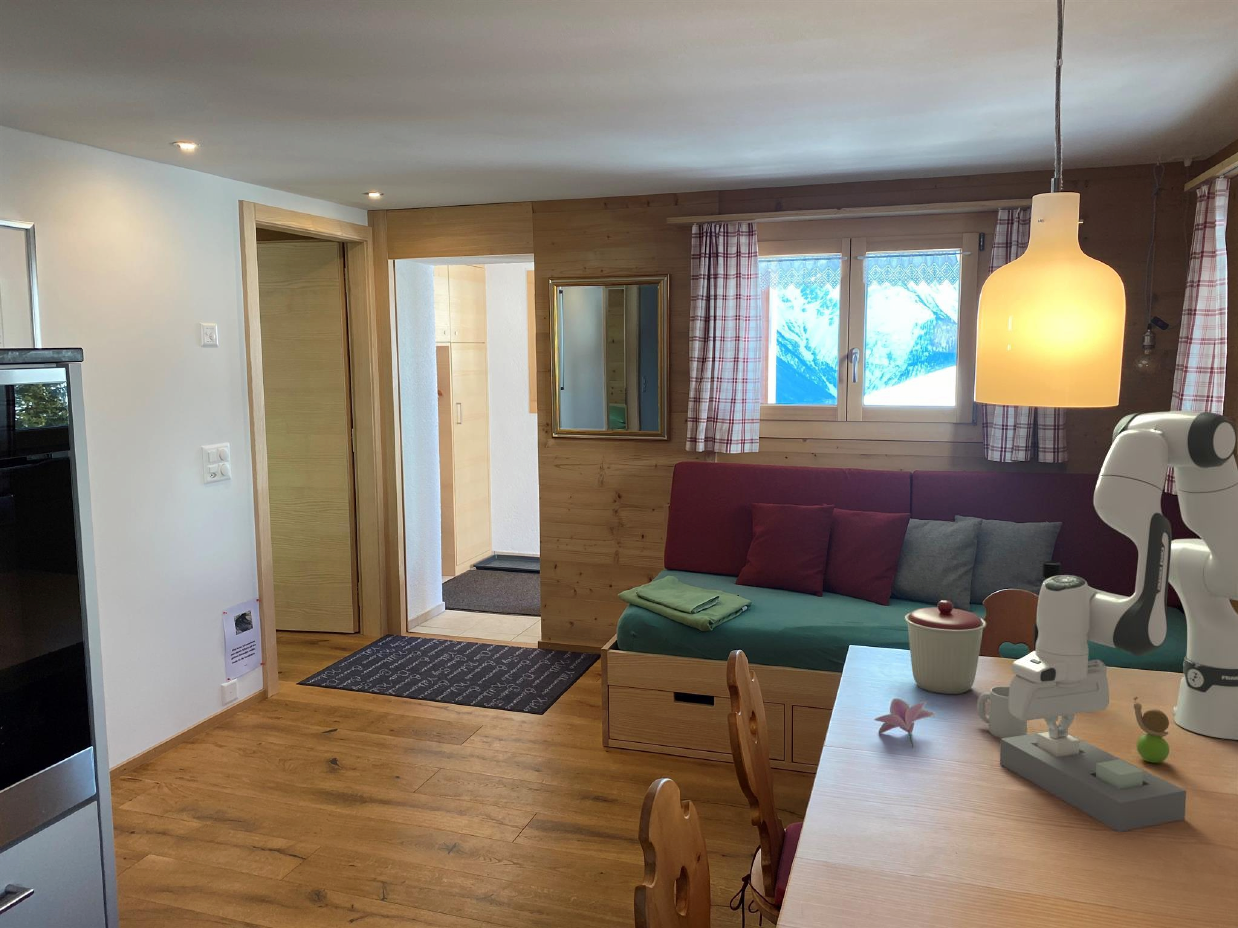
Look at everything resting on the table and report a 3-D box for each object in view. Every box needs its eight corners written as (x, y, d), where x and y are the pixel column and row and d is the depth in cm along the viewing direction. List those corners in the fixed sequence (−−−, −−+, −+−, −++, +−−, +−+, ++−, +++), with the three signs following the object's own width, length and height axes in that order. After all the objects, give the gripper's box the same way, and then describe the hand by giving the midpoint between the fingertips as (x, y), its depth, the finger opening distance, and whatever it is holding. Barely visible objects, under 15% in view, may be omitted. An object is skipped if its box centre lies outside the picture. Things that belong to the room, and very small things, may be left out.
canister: (977, 677, 228) (980, 593, 226) (989, 703, 210) (992, 612, 208) (900, 672, 232) (902, 589, 230) (906, 697, 215) (908, 608, 212)
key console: (1059, 754, 182) (1060, 729, 182) (1184, 818, 156) (1186, 790, 155) (999, 763, 178) (1000, 738, 178) (1118, 831, 152) (1119, 802, 151)
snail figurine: (1135, 751, 183) (1138, 692, 182) (1172, 761, 179) (1175, 700, 177) (1126, 760, 179) (1129, 699, 178) (1163, 770, 175) (1166, 708, 174)
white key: (1058, 755, 177) (1059, 730, 176) (1078, 766, 172) (1079, 739, 171) (1036, 758, 175) (1037, 733, 175) (1056, 769, 170) (1057, 743, 170)
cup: (1019, 743, 188) (1021, 700, 187) (970, 731, 194) (971, 689, 194) (1031, 732, 193) (1032, 691, 192) (982, 721, 200) (984, 680, 199)
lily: (944, 743, 191) (930, 696, 194) (939, 741, 180) (925, 691, 184) (886, 754, 194) (873, 708, 198) (878, 753, 184) (865, 704, 188)
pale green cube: (1118, 786, 163) (1119, 759, 163) (1141, 798, 159) (1143, 770, 158) (1095, 790, 162) (1096, 762, 161) (1118, 803, 157) (1119, 774, 157)
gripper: (1092, 653, 178) (1089, 723, 179) (1004, 664, 172) (1001, 736, 173) (1119, 663, 172) (1116, 735, 173) (1028, 675, 166) (1025, 749, 167)
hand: (1058, 736), depth 173 cm, fingers closed, pressing on white key
